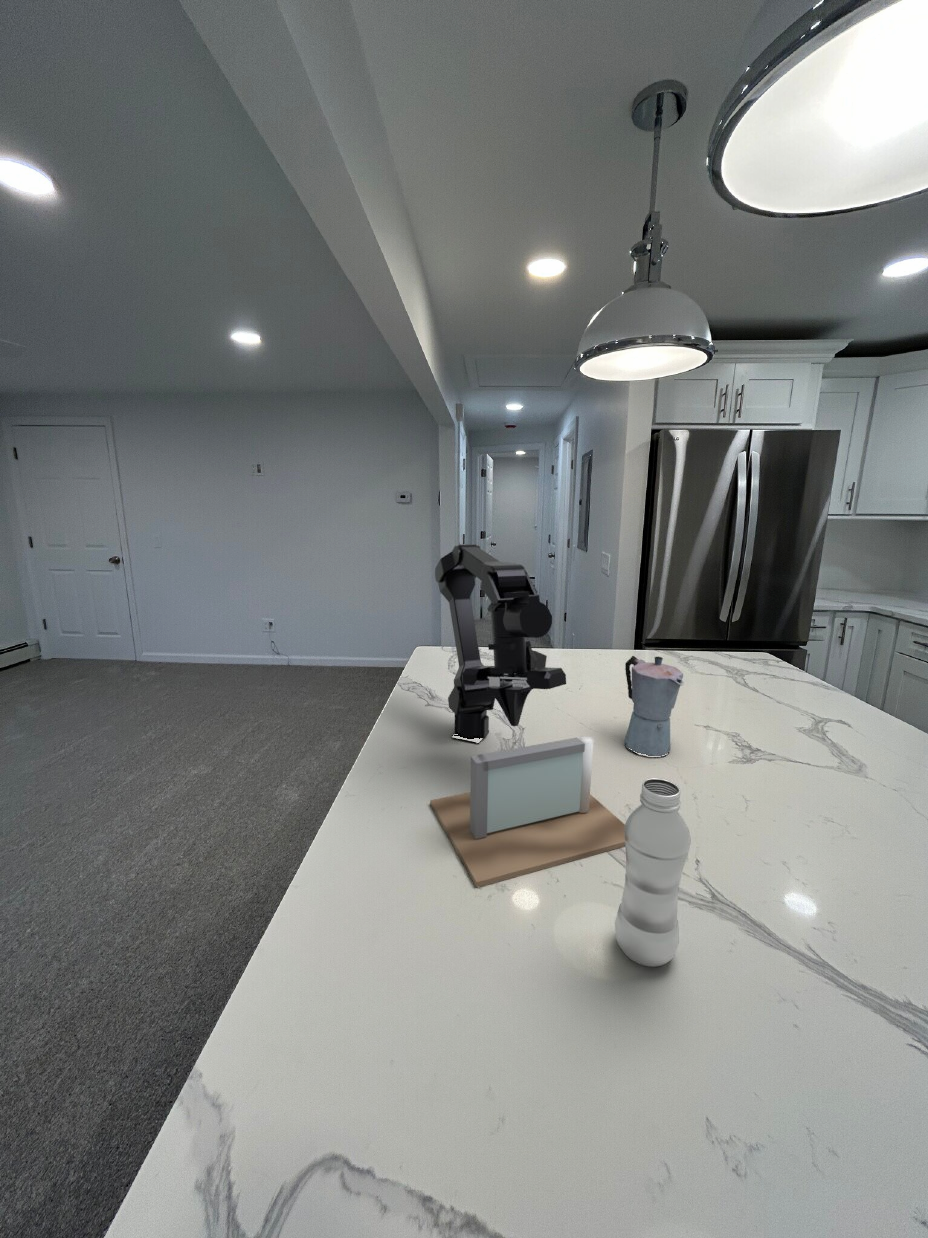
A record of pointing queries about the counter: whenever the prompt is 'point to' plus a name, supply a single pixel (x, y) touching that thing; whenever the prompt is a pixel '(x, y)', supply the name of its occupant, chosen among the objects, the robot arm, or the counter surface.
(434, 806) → the walnut board
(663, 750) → the moka pot
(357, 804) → the counter surface
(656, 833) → the plastic bottle
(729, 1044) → the counter surface
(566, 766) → the light blue panel
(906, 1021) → the counter surface
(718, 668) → the counter surface
